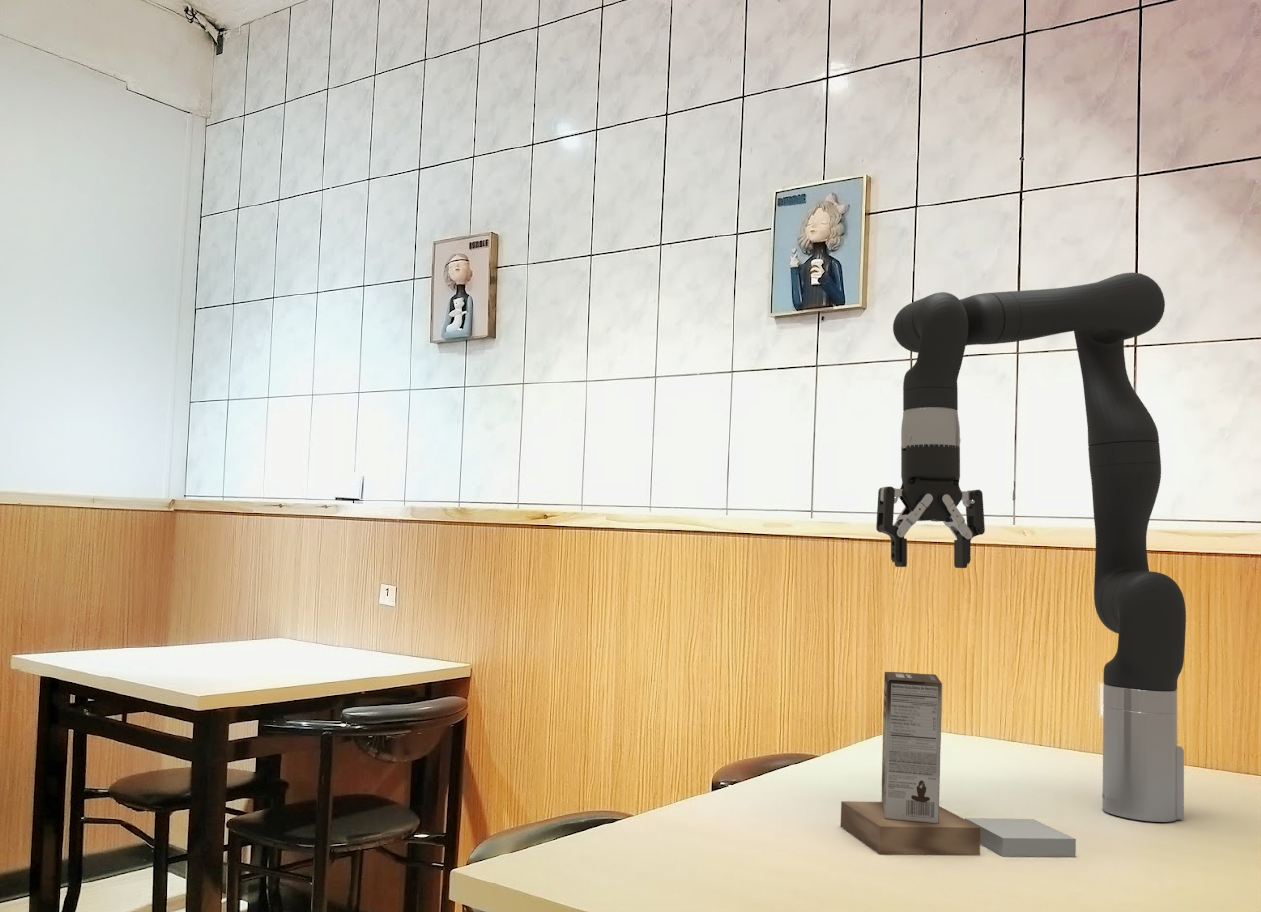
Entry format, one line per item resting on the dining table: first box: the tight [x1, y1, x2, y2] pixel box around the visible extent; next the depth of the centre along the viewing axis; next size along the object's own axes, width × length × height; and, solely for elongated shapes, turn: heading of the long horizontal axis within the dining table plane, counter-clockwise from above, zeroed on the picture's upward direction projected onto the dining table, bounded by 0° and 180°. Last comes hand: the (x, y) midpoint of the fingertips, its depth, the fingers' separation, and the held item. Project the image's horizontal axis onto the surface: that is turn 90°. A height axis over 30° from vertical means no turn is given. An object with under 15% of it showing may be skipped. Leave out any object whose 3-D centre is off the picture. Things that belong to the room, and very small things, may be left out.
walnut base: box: [840, 800, 981, 856], centre depth 124 cm, size 12×12×3 cm
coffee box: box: [881, 671, 943, 824], centre depth 126 cm, size 9×6×16 cm
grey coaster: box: [964, 817, 1077, 858], centre depth 124 cm, size 9×9×2 cm
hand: (930, 567), depth 138 cm, fingers open, 8 cm apart
